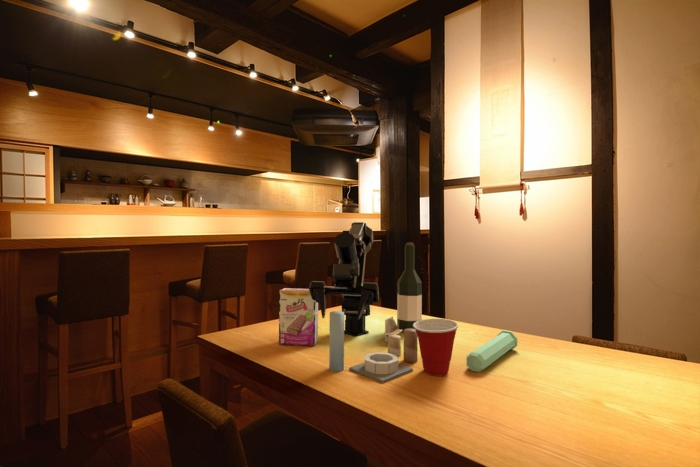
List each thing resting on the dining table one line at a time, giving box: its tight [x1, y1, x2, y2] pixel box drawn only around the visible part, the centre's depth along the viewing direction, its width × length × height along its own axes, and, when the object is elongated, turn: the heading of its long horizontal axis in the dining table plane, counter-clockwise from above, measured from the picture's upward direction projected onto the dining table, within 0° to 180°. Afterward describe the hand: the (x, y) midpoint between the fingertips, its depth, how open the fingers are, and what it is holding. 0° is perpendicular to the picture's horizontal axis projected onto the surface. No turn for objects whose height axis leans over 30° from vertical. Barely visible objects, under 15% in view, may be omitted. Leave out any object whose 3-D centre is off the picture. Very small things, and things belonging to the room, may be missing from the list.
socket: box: [348, 351, 414, 384], centre depth 93 cm, size 11×11×3 cm
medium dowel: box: [403, 329, 419, 364], centre depth 101 cm, size 4×4×8 cm
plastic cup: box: [413, 318, 459, 377], centre depth 93 cm, size 11×11×12 cm
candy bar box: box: [278, 287, 319, 347], centre depth 115 cm, size 11×5×16 cm, turn 84°
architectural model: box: [383, 316, 402, 344], centre depth 118 cm, size 3×7×7 cm, turn 150°
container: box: [466, 329, 518, 373], centre depth 102 cm, size 6×6×25 cm
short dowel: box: [387, 334, 402, 358], centre depth 105 cm, size 4×4×5 cm
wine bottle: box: [396, 242, 423, 334], centre depth 131 cm, size 8×8×30 cm
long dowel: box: [328, 310, 345, 373], centre depth 94 cm, size 4×4×14 cm
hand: (340, 318), depth 99 cm, fingers open, 9 cm apart
